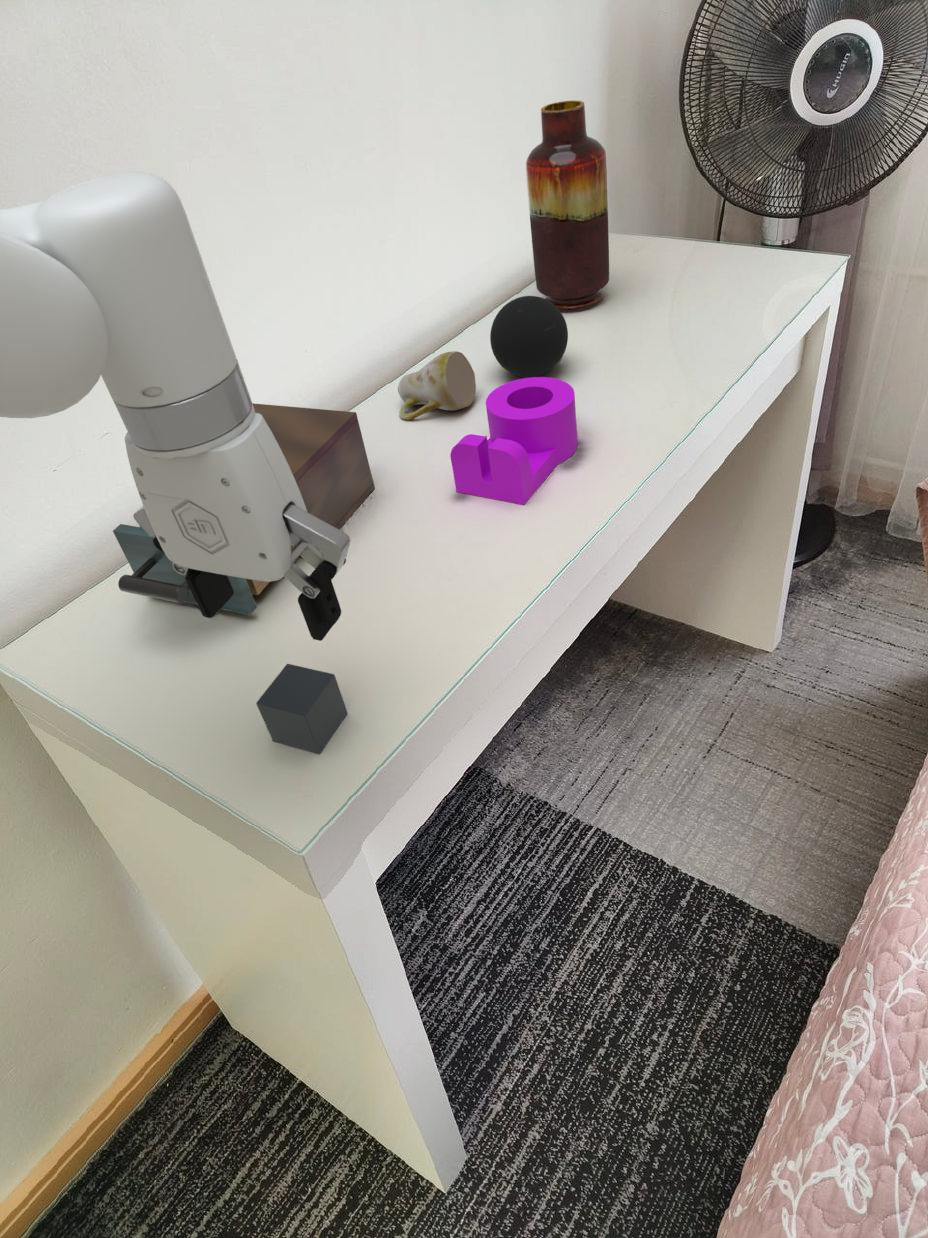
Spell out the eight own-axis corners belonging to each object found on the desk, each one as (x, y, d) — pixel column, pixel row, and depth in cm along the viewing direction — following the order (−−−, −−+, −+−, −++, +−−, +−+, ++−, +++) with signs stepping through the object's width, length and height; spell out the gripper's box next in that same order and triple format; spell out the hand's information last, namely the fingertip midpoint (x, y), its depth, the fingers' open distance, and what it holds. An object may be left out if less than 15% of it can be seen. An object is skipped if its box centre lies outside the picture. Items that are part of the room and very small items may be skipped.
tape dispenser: (516, 420, 103) (510, 372, 99) (591, 431, 99) (588, 382, 95) (450, 490, 94) (441, 440, 90) (530, 506, 89) (525, 454, 85)
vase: (542, 288, 134) (527, 101, 117) (612, 284, 132) (607, 91, 115) (532, 317, 127) (514, 120, 110) (607, 313, 124) (601, 110, 107)
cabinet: (313, 559, 88) (287, 480, 81) (202, 540, 93) (170, 465, 87) (375, 488, 96) (356, 411, 90) (270, 475, 102) (246, 402, 96)
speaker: (504, 357, 118) (496, 284, 111) (576, 355, 115) (571, 281, 108) (486, 391, 111) (476, 316, 104) (562, 390, 108) (556, 313, 101)
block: (319, 754, 67) (304, 715, 64) (272, 741, 69) (255, 703, 66) (348, 713, 70) (334, 674, 67) (302, 701, 72) (287, 663, 69)
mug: (409, 391, 114) (436, 325, 108) (466, 431, 112) (496, 366, 106) (378, 404, 108) (404, 335, 102) (437, 447, 107) (467, 379, 100)
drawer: (223, 646, 78) (193, 580, 73) (114, 621, 83) (80, 558, 78) (317, 538, 89) (297, 475, 84) (216, 523, 94) (192, 462, 89)
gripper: (39, 426, 52) (150, 630, 63) (269, 450, 45) (347, 674, 56) (120, 369, 57) (209, 568, 68) (338, 383, 50) (398, 601, 61)
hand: (272, 616), depth 62 cm, fingers open, 9 cm apart
